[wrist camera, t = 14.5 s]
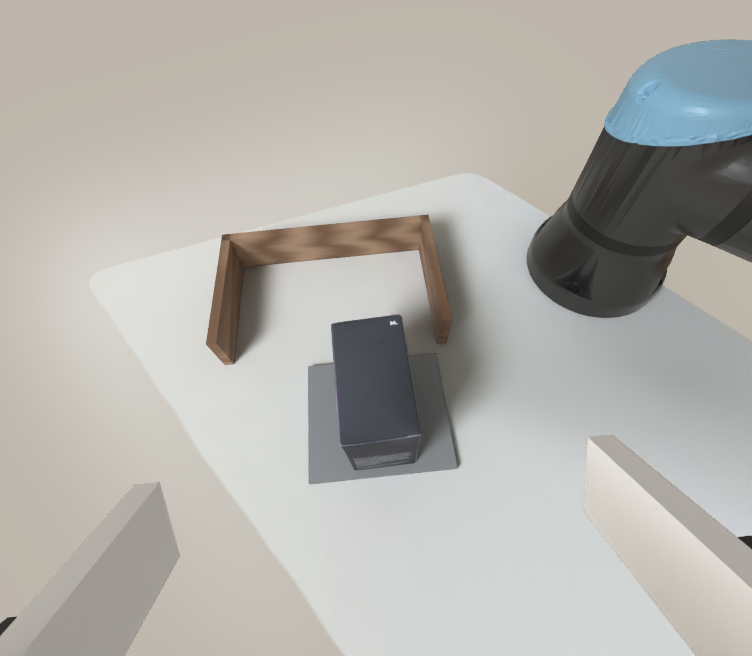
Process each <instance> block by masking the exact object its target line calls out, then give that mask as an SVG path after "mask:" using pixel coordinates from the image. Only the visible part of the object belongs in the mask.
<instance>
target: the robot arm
mask: <svg viewBox="0 0 752 656" xmlns="http://www.w3.org/2000/svg"><path fill="white" fill-rule="evenodd" d="M687 235H688V236H691V237H693V238H695V239H698V240H700V241H703V242H705V243H708V244H710V245H712V246H715V247H717V248H719V249H722V250H724V251H726V252H729V253H731V254H733V255H736V256H738V257H740V258H743V259H745V260H747V261H750V262H752V41H750V40H710V41H701V42H695V43H691V44H686V45H682V46H678V47H674V48H671V49H669V50H666V51H664V52H661V53H659V54H658V55H656V56H654V57H652V58H651V59H649V60H648V61H646V62H645V63H644V64H643V65H641V66H640V67H639V68H638V69H637V70H636V72H635V73H634V74H633V75H632V77H631V78H630V80H629V81H628V83H627V85H626V87H625V88H624V90H623V92H622V94H621V96H620V98H619V99H618V101H617V103H616V104H615V106H614V107H613V108H612V109H611V110H610V111H609V113H608V115H607V117H606V119H605V126H604V128H603V130H602V132H601V134H600V136H599V138H598V141H597V142H596V145H595V147H594V149H593V151H592V153H591V155H590V157H589V159H588V161H587V163H586V165H585V167H584V169H583V171H582V173H581V175H580V177H579V179H578V181H577V183H576V185H575V187H574V189H573V191H572V193H571V195H570V197H569V199H568V200H567V201H566V202H565V203H564V204H563V205H562V206H561V207H560V208H559V209H558V210H557V211H556V212H555V214H554V215H553V216H551V217H550V218H548V219H547V220H546V221H545V222H544V223H543V224H542V225H541V226H540V227H539V228H538V230H537V231H536V233H535V235H534V237H533V239H532V241H531V243H530V246H529V248H528V252H527V265H528V269H529V272H530V275H531V277H532V279H533V280H534V282H535V283H536V285H537V286H538V287H539V289H540V290H541V291H542V292H543V293H544V294H545V295H547V296H548V297H549V298H550V299H551V300H553V301H554V302H556V303H557V304H559V305H561V306H563V307H565V308H567V309H569V310H571V311H574V312H576V313H579V314H583V315H587V316H592V317H601V318H611V317H620V316H624V315H628V314H631V313H633V312H635V311H637V310H639V309H640V308H642V307H643V306H644V305H645V304H646V303H647V302H648V301H649V300H650V299H651V298H652V297H653V296H654V295H655V294H656V293H657V292H658V291H659V289H660V288H661V286H662V285H663V282H664V280H665V277H666V273H667V268H668V266H669V265H670V263H671V260H672V258H673V256H674V253H675V250H676V248H677V246H678V245H679V244H680V243H681V241H682V240H683V239H684V238H685V237H686V236H687ZM584 513H585V515H586V516H587V517H588V519H589V520H590V521H591V522H592V524H593V525H594V526H595V528H596V529H597V530H598V531H599V533H600V534H601V535H602V537H603V538H604V539H605V540H606V542H607V543H608V544H609V546H610V547H611V548H612V549H613V551H614V552H615V553H616V554H617V556H618V557H619V558H620V560H621V561H622V562H623V563H624V565H625V566H626V567H627V569H628V570H629V571H630V572H631V574H632V575H633V576H634V578H635V579H636V580H637V581H638V583H639V584H640V585H641V586H642V588H643V589H644V590H645V592H646V593H647V594H648V595H649V597H650V598H651V599H652V601H653V602H654V603H655V604H656V606H657V607H658V608H659V610H660V611H661V612H662V613H663V615H664V616H665V617H666V618H667V620H668V621H669V622H670V624H671V625H672V626H673V627H674V629H675V630H676V631H677V633H678V634H679V635H680V636H681V638H682V639H683V640H684V642H685V643H686V644H687V645H688V647H689V648H690V649H691V650H692V652H693V653H694V654H695V656H752V536H744V537H736V536H735V535H734V534H733V533H731V532H730V531H729V530H728V529H726V528H725V527H724V526H723V525H722V524H720V523H719V522H718V521H717V520H716V519H714V518H713V517H712V516H711V515H709V514H708V513H707V512H706V511H705V510H703V509H702V508H701V507H700V506H699V505H697V504H696V503H695V502H694V501H692V500H691V499H690V498H689V497H688V496H686V495H685V494H684V493H683V492H682V491H680V490H679V489H678V488H677V487H675V486H674V485H673V484H672V483H671V482H669V481H668V480H667V479H666V478H664V477H663V476H662V475H661V474H660V473H658V472H657V471H656V470H655V469H654V468H652V467H651V466H650V465H649V464H647V463H646V462H645V461H644V460H643V459H641V458H640V457H639V456H638V455H637V454H635V453H634V452H633V451H632V450H630V449H629V448H628V447H627V446H626V445H624V444H623V443H622V442H621V441H620V440H618V439H617V438H616V437H615V436H613V435H605V436H595V437H588V444H587V463H586V482H585V501H584ZM179 557H180V554H179V551H178V547H177V543H176V540H175V536H174V532H173V529H172V525H171V522H170V518H169V514H168V511H167V507H166V503H165V500H164V497H163V493H162V489H161V485H160V482H156V483H146V484H137V485H134V486H133V487H132V488H131V489H130V490H129V491H128V493H127V494H126V495H125V496H124V497H123V498H122V499H121V500H120V501H119V503H118V504H117V505H116V506H115V507H114V508H113V509H112V511H111V512H110V513H109V514H108V515H107V516H106V517H105V518H104V520H103V521H102V522H101V523H100V524H99V525H98V526H97V528H96V529H95V530H94V531H93V532H92V533H91V534H90V535H89V536H88V538H87V539H86V540H85V541H84V542H83V543H82V544H81V545H80V547H79V548H78V549H77V550H76V551H75V552H74V553H73V555H72V556H71V557H70V558H69V559H68V560H67V561H66V562H65V564H64V565H63V566H62V567H61V568H60V569H59V570H58V571H57V573H56V574H55V575H54V576H53V577H52V578H51V579H50V580H49V582H48V583H47V584H46V585H45V586H44V587H43V589H42V590H41V591H40V592H39V593H38V594H37V595H36V596H35V597H34V599H33V600H32V601H31V602H30V603H29V604H28V605H27V606H26V608H25V609H24V610H23V611H22V612H21V613H20V614H19V615H18V617H9V618H7V619H6V620H4V621H3V622H2V623H1V624H0V656H125V654H126V652H127V651H128V649H129V647H130V645H131V644H132V642H133V640H134V638H135V636H136V634H137V633H138V631H139V629H140V627H141V625H142V624H143V622H144V620H145V618H146V616H147V615H148V613H149V611H150V609H151V607H152V605H153V604H154V602H155V600H156V598H157V597H158V594H159V593H160V591H161V589H162V588H163V586H164V584H165V582H166V580H167V578H168V577H169V575H170V573H171V571H172V569H173V568H174V566H175V564H176V562H177V560H178V558H179Z"/></svg>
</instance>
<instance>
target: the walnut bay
mask: <svg viewBox="0 0 752 656" xmlns="http://www.w3.org/2000/svg"><path fill="white" fill-rule="evenodd" d="M411 250H419V253H420V258H421V263H422V268H423V273H424V278H425V283H426V288H427V293H428V299H429V304H430V309H431V314H432V319H433V324H434V329H435V334H436V339H437V343H446V341H447V337H448V333H449V329H450V325H451V321H452V318H451V313H450V309H449V304H448V300H447V296H446V291H445V287H444V282H443V278H442V274H441V269H440V265H439V260H438V256H437V251H436V247H435V243H434V238H433V234H432V229H431V225H430V221H429V216H428V215H420V216H410V217H400V218H390V219H379V220H369V221H359V222H349V223H338V224H328V225H318V226H308V227H297V228H287V229H277V230H266V231H256V232H246V233H236V234H226V235H222V240H221V247H220V254H219V261H218V267H217V274H216V281H215V287H214V294H213V301H212V307H211V314H210V321H209V328H208V334H207V341H206V345H207V346H208V347H209V348H210V349H211V350H212V351H213V352H214V354H215V355H216V356H217V357H218V358H219V359H220V360H221V361H222V362H223V363H224V365H230V364H234V357H235V348H236V338H237V329H238V319H239V310H240V300H241V291H242V281H243V271H244V267H249V266H259V265H269V264H279V263H289V262H299V261H310V260H320V259H330V258H340V257H350V256H360V255H371V254H381V253H391V252H401V251H411Z"/></svg>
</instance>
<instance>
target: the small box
mask: <svg viewBox="0 0 752 656" xmlns="http://www.w3.org/2000/svg"><path fill="white" fill-rule="evenodd" d="M331 331H332V346H333V360H334V375H335V390H336V404H337V419H338V433H339V444H340V446H341V447H342V449H343V451H344V453H345V454H346V456H347V458H348V460H349V461H350V463H351V465H352V467H353V469H354V470H364V469H372V468H381V467H388V466H396V465H404V464H412V463H415V462H416V461H417V452H418V447H419V441H420V438H421V436H422V430H421V424H420V418H419V412H418V406H417V401H416V395H415V389H414V384H413V378H412V372H411V366H410V361H409V356H408V350H407V345H406V339H405V333H404V328H403V322H402V317H401V315H399V314H397V315H390V316H383V317H375V318H368V319H360V320H352V321H345V322H338V323H332V324H331Z"/></svg>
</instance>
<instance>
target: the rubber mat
mask: <svg viewBox="0 0 752 656" xmlns="http://www.w3.org/2000/svg"><path fill="white" fill-rule="evenodd" d="M409 361H410V366H411V372H412V378H413V384H414V389H415V395H416V401H417V406H418V412H419V418H420V424H421V430H422V436H421V438H420V441H419V447H418V452H417V461H416V462H415V463H412V464H404V465H396V466H388V467H381V468H372V469H364V470H354V469H353V467H352V465H351V463H350V461H349V460H348V458H347V456H346V454H345V453H344V451H343V449H342V447H341V446H340V444H339V433H338V419H337V404H336V390H335V375H334V364H327V365H317V366H308V414H309V484H317V483H326V482H336V481H345V480H355V479H364V478H374V477H383V476H393V475H402V474H412V473H421V472H431V471H440V470H450V469H457V468H458V467H457V462H456V457H455V452H454V446H453V441H452V436H451V431H450V425H449V420H448V415H447V410H446V405H445V399H444V394H443V389H442V384H441V378H440V373H439V368H438V363H437V358H436V353H435V354H425V355H415V356H409Z"/></svg>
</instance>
